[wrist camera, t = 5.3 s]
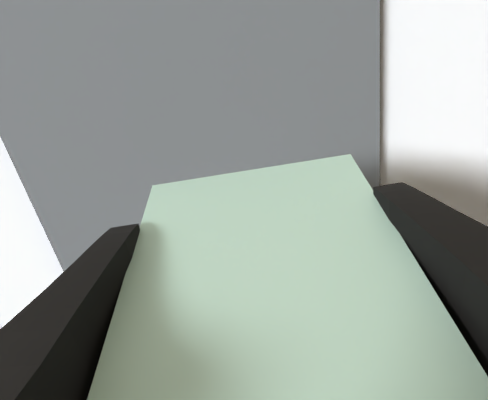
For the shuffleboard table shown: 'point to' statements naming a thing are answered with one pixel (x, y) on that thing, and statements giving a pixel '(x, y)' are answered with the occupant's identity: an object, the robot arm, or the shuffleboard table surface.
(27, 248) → the shuffleboard table surface
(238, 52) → the slate mat
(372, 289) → the domino
